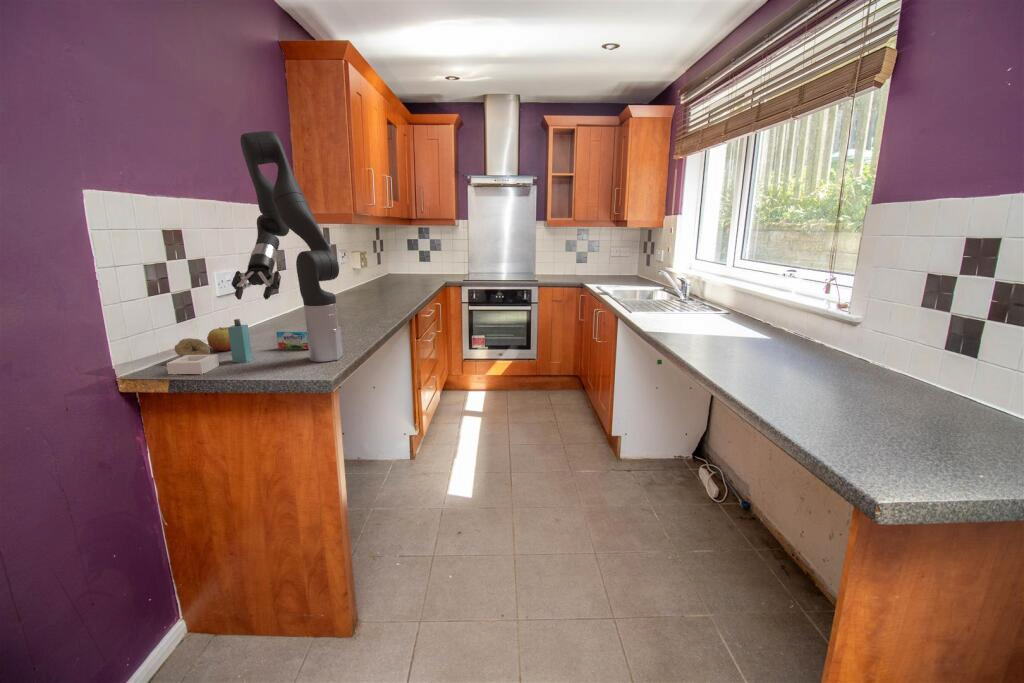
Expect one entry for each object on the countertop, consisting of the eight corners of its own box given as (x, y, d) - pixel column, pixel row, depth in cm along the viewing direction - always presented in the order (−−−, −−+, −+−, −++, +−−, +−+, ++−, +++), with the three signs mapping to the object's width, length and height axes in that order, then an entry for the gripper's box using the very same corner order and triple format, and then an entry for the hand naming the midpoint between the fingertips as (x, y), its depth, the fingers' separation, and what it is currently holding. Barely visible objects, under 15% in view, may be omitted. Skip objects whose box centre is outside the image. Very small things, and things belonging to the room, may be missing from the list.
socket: (219, 365, 140) (217, 354, 139) (202, 374, 131) (200, 362, 131) (187, 366, 140) (185, 355, 139) (168, 375, 131) (166, 363, 130)
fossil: (169, 346, 140) (191, 332, 149) (163, 356, 142) (185, 341, 151) (196, 364, 142) (217, 349, 151) (191, 373, 144) (211, 358, 153)
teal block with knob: (252, 358, 147) (246, 318, 145) (246, 362, 144) (240, 320, 141) (239, 359, 147) (233, 318, 144) (233, 362, 143) (226, 320, 140)
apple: (202, 353, 156) (198, 329, 154) (221, 346, 165) (218, 323, 163) (230, 353, 155) (226, 329, 153) (248, 346, 164) (245, 324, 163)
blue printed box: (278, 349, 160) (276, 331, 158) (281, 348, 161) (278, 330, 160) (311, 350, 158) (309, 332, 157) (314, 349, 160) (312, 331, 158)
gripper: (236, 252, 157) (223, 291, 149) (280, 252, 158) (270, 291, 150) (245, 267, 164) (234, 305, 155) (288, 267, 165) (278, 304, 156)
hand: (251, 298), depth 153 cm, fingers open, 8 cm apart
